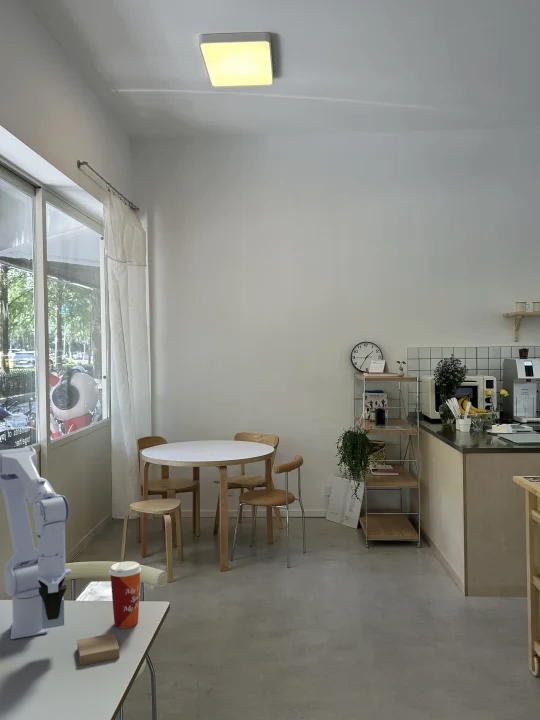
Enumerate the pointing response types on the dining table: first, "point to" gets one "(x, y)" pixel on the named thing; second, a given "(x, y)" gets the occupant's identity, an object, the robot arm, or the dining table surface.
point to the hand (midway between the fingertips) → (52, 614)
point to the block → (53, 622)
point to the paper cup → (125, 593)
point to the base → (98, 649)
